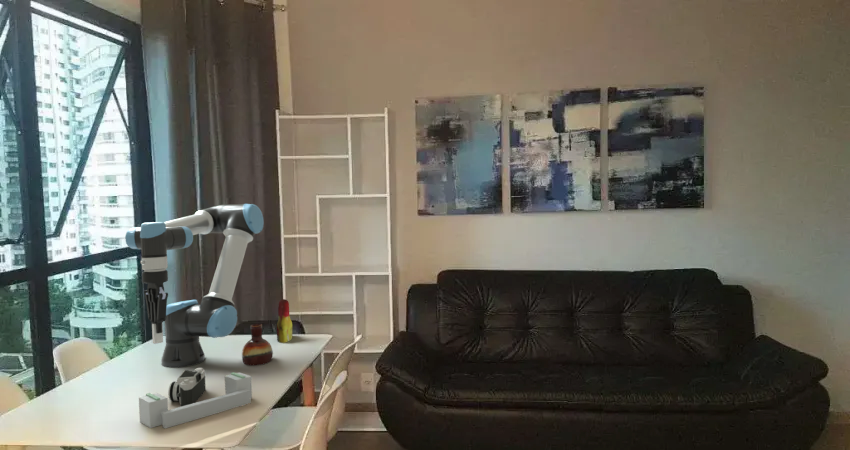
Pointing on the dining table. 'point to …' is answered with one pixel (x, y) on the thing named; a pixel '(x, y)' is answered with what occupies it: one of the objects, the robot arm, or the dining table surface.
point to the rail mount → (195, 404)
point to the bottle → (284, 322)
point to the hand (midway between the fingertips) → (157, 342)
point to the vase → (257, 348)
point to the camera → (188, 387)
